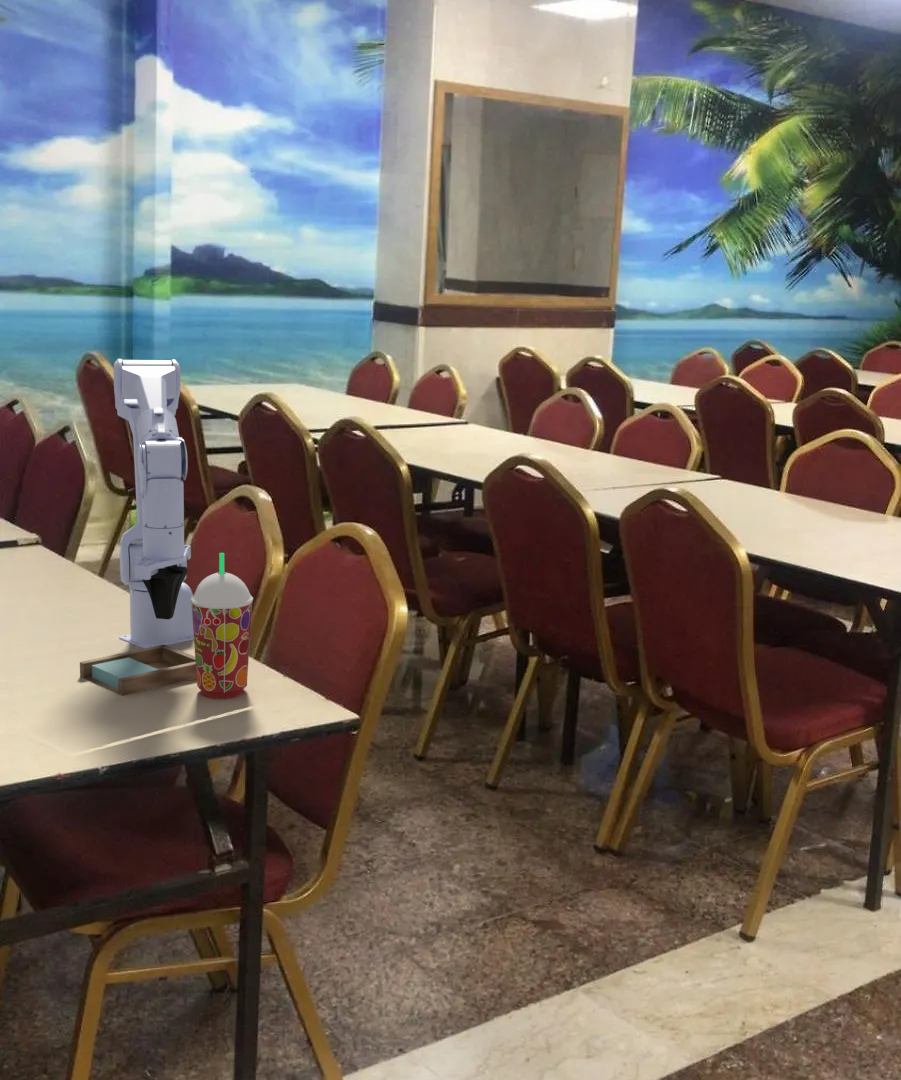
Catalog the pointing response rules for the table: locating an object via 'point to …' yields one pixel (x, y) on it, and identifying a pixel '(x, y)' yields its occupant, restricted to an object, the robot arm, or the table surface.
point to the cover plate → (118, 670)
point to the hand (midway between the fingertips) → (164, 617)
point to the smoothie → (221, 634)
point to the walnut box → (161, 657)
